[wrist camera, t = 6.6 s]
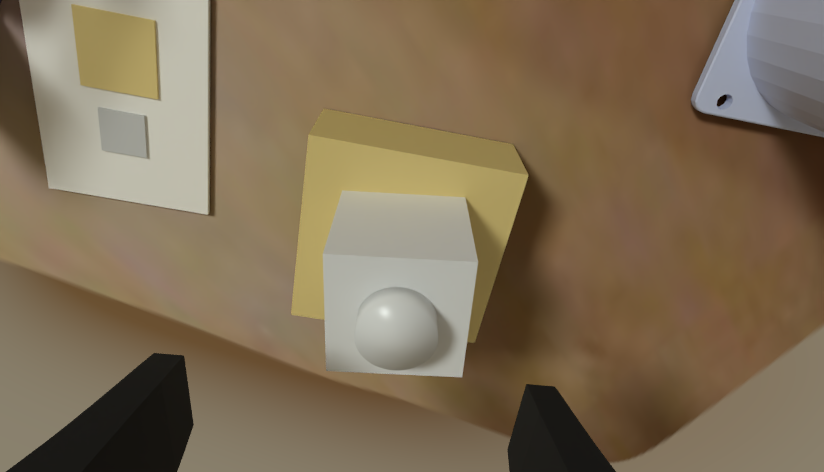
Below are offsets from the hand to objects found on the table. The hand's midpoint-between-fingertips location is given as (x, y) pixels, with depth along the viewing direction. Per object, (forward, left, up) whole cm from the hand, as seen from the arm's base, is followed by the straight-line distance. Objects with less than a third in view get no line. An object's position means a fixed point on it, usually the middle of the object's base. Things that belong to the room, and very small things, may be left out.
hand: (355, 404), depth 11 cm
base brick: (-1, 0, -10) cm, 10 cm away
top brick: (-1, 0, -7) cm, 7 cm away
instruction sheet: (+10, -2, -10) cm, 14 cm away
